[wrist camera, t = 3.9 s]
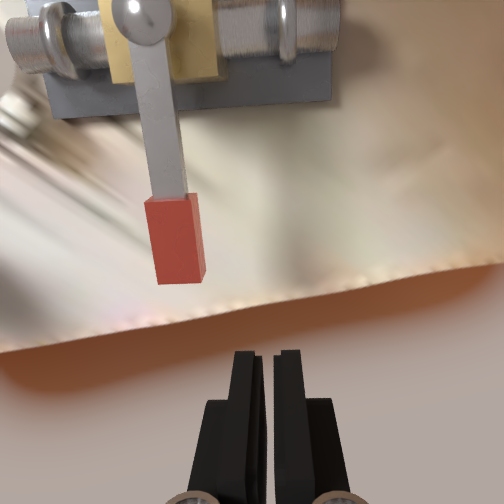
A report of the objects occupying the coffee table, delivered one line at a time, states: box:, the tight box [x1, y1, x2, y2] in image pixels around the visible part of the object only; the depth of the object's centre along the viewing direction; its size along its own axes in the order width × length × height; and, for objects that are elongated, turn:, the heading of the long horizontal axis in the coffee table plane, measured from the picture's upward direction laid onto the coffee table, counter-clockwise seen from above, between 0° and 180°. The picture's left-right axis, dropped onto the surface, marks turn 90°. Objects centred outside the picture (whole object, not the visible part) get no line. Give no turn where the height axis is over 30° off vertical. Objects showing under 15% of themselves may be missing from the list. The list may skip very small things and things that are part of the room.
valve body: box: [5, 0, 340, 119], centre depth 23 cm, size 20×9×8 cm, turn 94°
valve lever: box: [111, 0, 206, 285], centre depth 21 cm, size 3×15×2 cm, turn 3°
